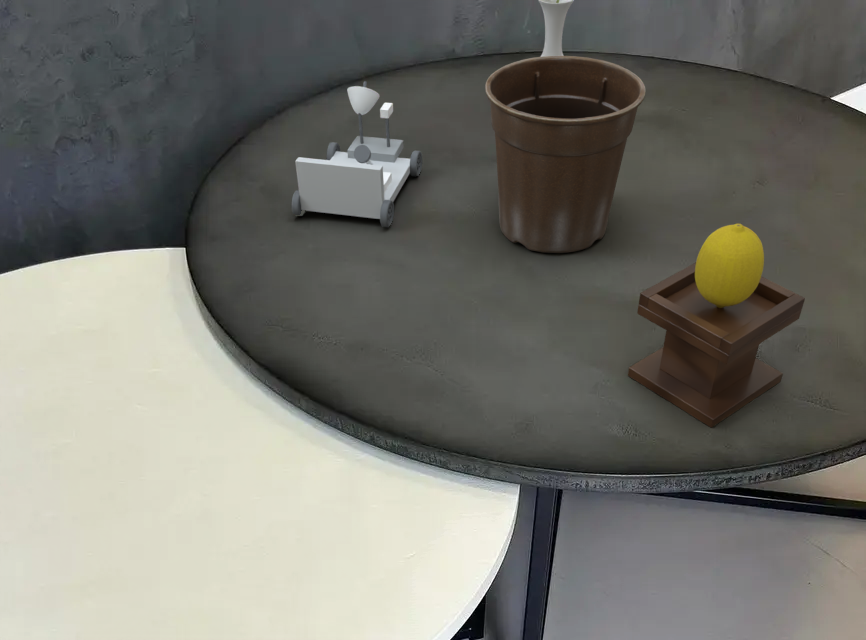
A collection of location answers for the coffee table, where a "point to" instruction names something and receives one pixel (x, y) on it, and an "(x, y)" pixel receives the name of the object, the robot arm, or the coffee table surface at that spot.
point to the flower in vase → (554, 25)
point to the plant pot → (560, 147)
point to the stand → (712, 345)
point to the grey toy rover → (357, 170)
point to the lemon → (729, 265)
